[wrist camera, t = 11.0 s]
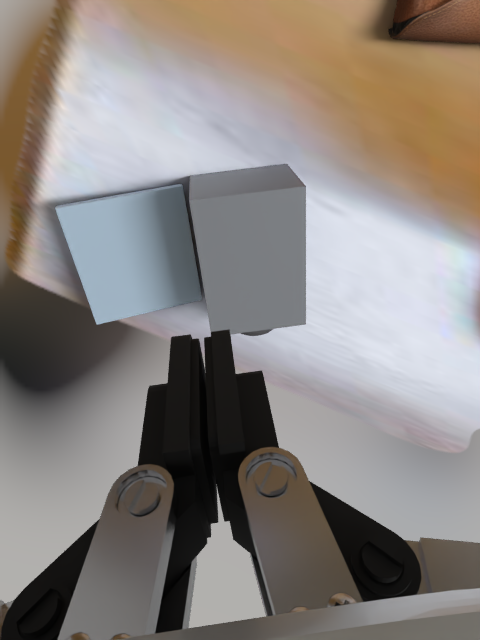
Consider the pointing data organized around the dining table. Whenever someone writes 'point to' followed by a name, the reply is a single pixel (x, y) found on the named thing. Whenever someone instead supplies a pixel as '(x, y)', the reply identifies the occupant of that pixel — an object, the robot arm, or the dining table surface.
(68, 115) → the dining table surface
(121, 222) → the side door
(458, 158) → the dining table surface
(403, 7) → the sunglasses case
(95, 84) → the dining table surface
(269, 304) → the block
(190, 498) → the robot arm
